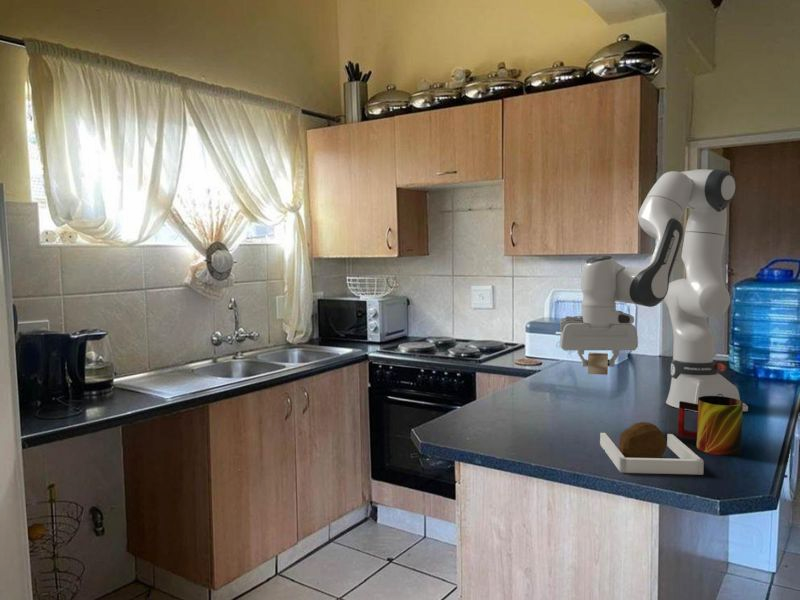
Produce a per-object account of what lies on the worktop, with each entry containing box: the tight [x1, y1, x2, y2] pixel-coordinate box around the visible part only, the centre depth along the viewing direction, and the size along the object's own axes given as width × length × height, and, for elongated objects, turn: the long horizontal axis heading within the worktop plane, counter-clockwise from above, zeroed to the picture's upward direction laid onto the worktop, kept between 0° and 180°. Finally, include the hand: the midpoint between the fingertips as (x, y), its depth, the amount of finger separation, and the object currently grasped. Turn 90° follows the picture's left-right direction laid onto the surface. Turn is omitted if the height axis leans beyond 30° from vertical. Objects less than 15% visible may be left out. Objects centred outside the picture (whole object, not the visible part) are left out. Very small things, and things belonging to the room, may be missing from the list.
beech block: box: [587, 351, 609, 376], centre depth 167 cm, size 5×5×5 cm
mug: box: [677, 396, 744, 457], centre depth 150 cm, size 10×14×12 cm
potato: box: [618, 421, 667, 458], centre depth 142 cm, size 8×12×9 cm
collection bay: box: [599, 432, 705, 476], centre depth 143 cm, size 17×19×3 cm
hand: (598, 366), depth 167 cm, fingers closed on beech block, 6 cm apart
